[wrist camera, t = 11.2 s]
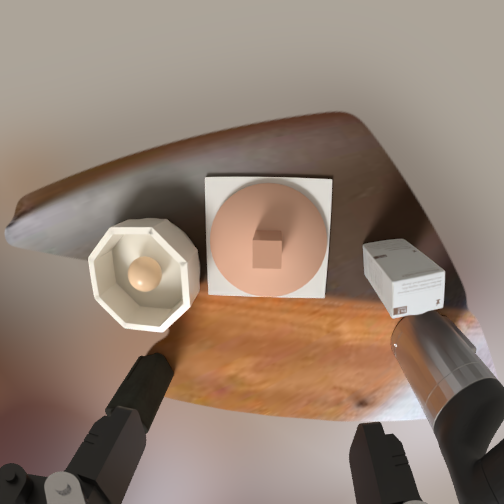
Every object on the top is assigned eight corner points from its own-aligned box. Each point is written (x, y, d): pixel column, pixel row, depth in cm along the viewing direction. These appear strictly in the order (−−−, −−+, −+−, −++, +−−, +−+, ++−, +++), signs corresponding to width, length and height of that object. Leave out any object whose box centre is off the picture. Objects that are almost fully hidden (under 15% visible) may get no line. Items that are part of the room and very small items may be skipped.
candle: (161, 351, 44) (90, 481, 20) (176, 377, 45) (120, 507, 21) (135, 356, 45) (60, 475, 21) (150, 381, 46) (88, 500, 22)
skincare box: (403, 236, 37) (448, 266, 25) (404, 269, 38) (446, 308, 26) (359, 243, 37) (392, 277, 26) (362, 277, 39) (392, 321, 27)
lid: (328, 184, 35) (338, 188, 30) (321, 295, 39) (328, 316, 34) (209, 182, 36) (198, 186, 31) (213, 292, 40) (203, 312, 35)
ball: (165, 252, 38) (152, 263, 34) (168, 284, 40) (156, 298, 35) (134, 251, 39) (119, 261, 35) (138, 283, 40) (124, 296, 36)
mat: (331, 179, 36) (332, 179, 35) (323, 296, 40) (324, 298, 39) (205, 176, 36) (204, 177, 36) (209, 293, 41) (208, 294, 40)
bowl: (198, 217, 38) (185, 227, 32) (203, 312, 42) (192, 335, 36) (107, 218, 39) (84, 227, 33) (118, 305, 42) (99, 324, 37)
